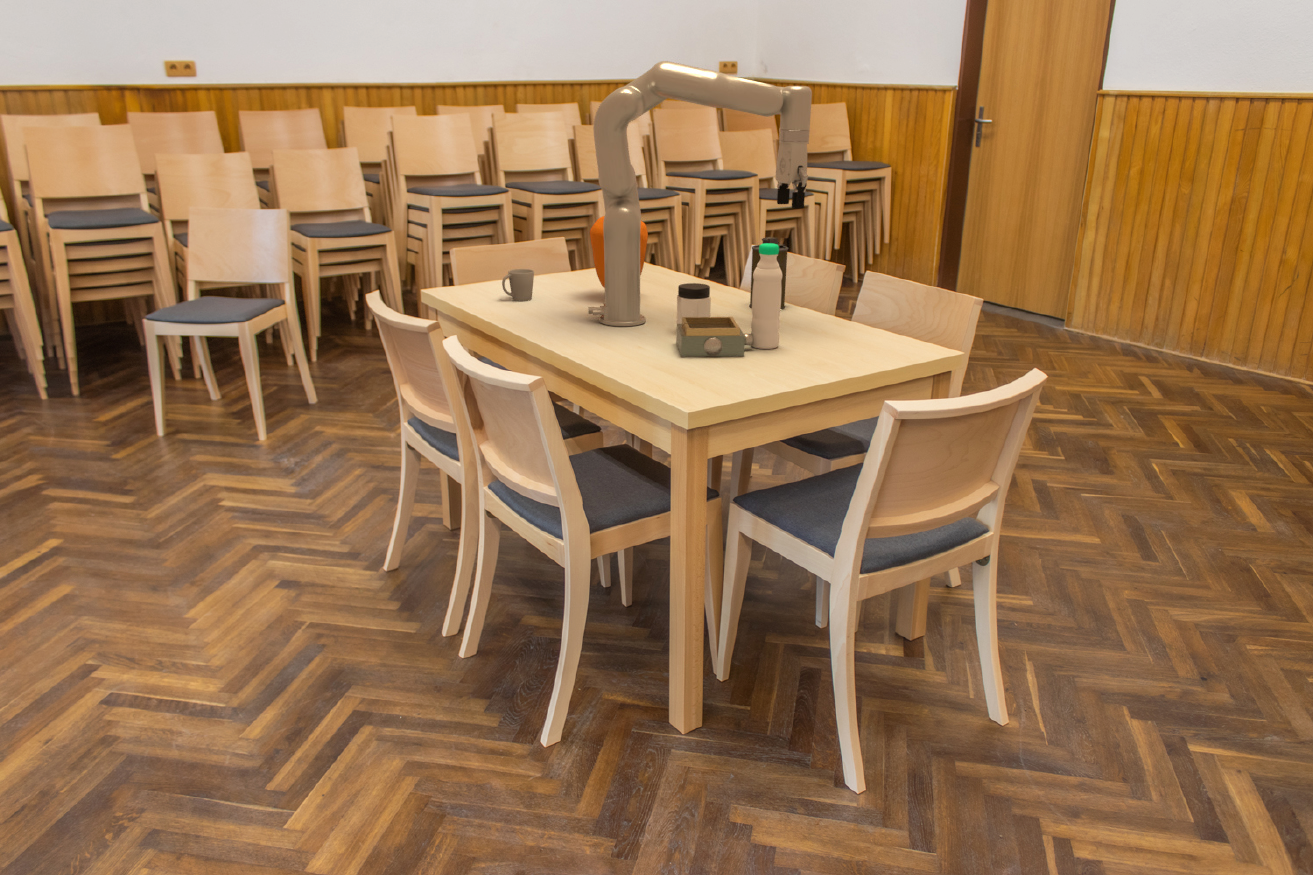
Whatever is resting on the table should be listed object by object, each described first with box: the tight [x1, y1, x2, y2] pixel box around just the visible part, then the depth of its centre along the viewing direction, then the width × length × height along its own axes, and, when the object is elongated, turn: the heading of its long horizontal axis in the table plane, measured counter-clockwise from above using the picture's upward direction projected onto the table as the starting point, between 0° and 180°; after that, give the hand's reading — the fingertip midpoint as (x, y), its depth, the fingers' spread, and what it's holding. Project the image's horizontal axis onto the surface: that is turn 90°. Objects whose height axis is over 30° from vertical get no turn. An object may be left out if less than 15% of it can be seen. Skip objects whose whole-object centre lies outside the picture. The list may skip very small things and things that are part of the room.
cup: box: [501, 268, 535, 302], centre depth 288 cm, size 8×10×8 cm
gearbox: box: [675, 316, 754, 358], centre depth 234 cm, size 18×14×7 cm
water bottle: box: [750, 243, 782, 350], centre depth 235 cm, size 7×7×25 cm
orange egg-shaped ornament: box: [589, 215, 649, 289], centre depth 288 cm, size 17×17×25 cm
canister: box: [749, 236, 789, 310], centre depth 280 cm, size 11×10×20 cm
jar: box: [676, 282, 712, 325], centre depth 251 cm, size 9×8×12 cm
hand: (790, 206), depth 253 cm, fingers open, 9 cm apart
